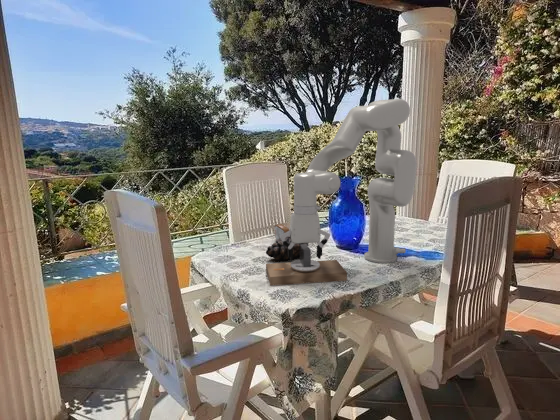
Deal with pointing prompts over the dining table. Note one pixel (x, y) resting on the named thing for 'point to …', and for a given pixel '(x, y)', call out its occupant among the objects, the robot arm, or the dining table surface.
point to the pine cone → (283, 251)
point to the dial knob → (305, 261)
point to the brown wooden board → (305, 273)
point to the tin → (280, 230)
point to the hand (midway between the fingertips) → (305, 258)
